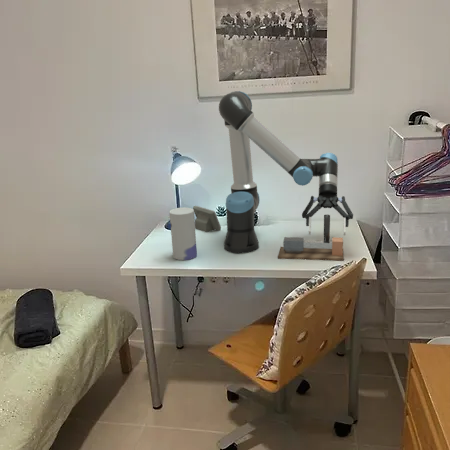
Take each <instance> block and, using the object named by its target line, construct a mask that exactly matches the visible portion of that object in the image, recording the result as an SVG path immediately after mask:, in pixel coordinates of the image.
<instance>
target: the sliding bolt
mask: <svg viewBox="0 0 450 450" xmlns="http://www.w3.org/2000/svg"><path fill="white" fill-rule="evenodd" d="M330 233H331V214H324V215H323V240H305V239H304V241H303V248H320V249H332V240H330V236H331V234H330Z"/></svg>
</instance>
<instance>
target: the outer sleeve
mask: <svg viewBox="0 0 450 450" xmlns="http://www.w3.org/2000/svg"><path fill="white" fill-rule="evenodd" d="M304 240H305V237H298V236H297V237H291V236H290V237H289V236H287V237H286V236H285V237H283V246H282V247H284V250H286V253H294V254H301V251H303V249H304V248H303V241H304Z"/></svg>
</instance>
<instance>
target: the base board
mask: <svg viewBox="0 0 450 450" xmlns="http://www.w3.org/2000/svg"><path fill="white" fill-rule="evenodd" d="M344 256H345V255H344V253H343V256H340V255H332V249H320V248H304V249H303V251H301V254H294V253H286V250H284V246H280V248H279V250H278V254H277V259H279V260H305V259H306V260H307V261H308V260H309V261H333V262H334V261H339V262H344V260H345V258H344Z"/></svg>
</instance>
